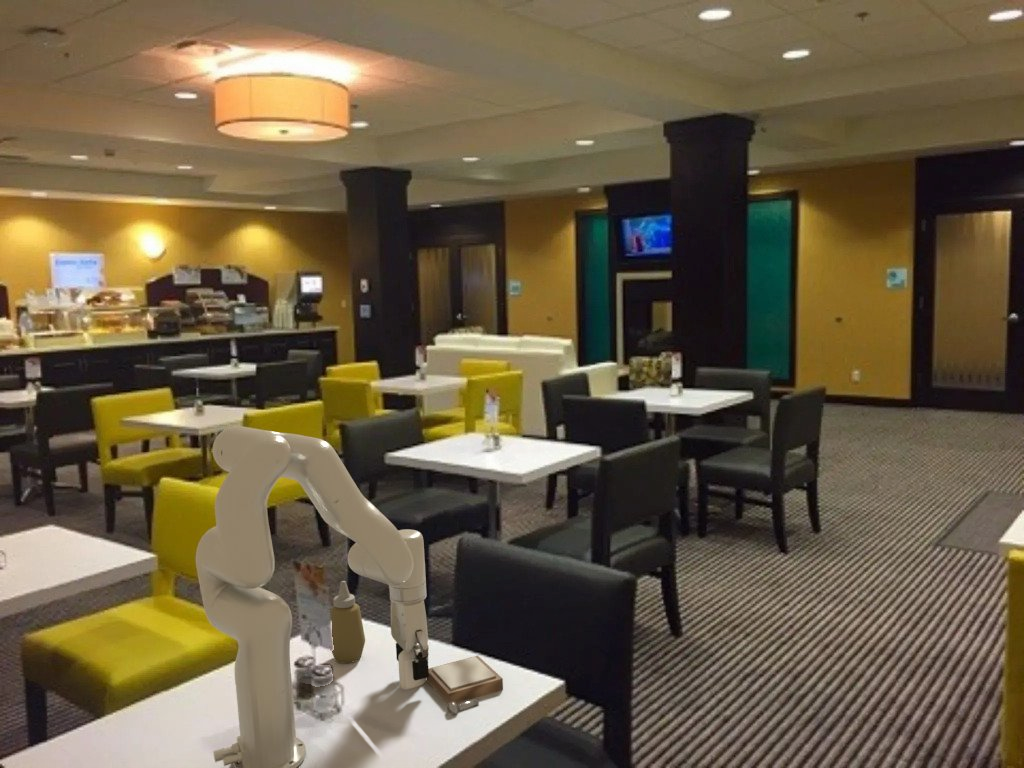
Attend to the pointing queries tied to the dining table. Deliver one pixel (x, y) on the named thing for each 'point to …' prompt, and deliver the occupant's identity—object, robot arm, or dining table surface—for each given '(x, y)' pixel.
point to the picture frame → (464, 679)
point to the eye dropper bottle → (408, 670)
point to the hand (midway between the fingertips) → (412, 668)
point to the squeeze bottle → (346, 627)
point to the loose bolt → (461, 706)
